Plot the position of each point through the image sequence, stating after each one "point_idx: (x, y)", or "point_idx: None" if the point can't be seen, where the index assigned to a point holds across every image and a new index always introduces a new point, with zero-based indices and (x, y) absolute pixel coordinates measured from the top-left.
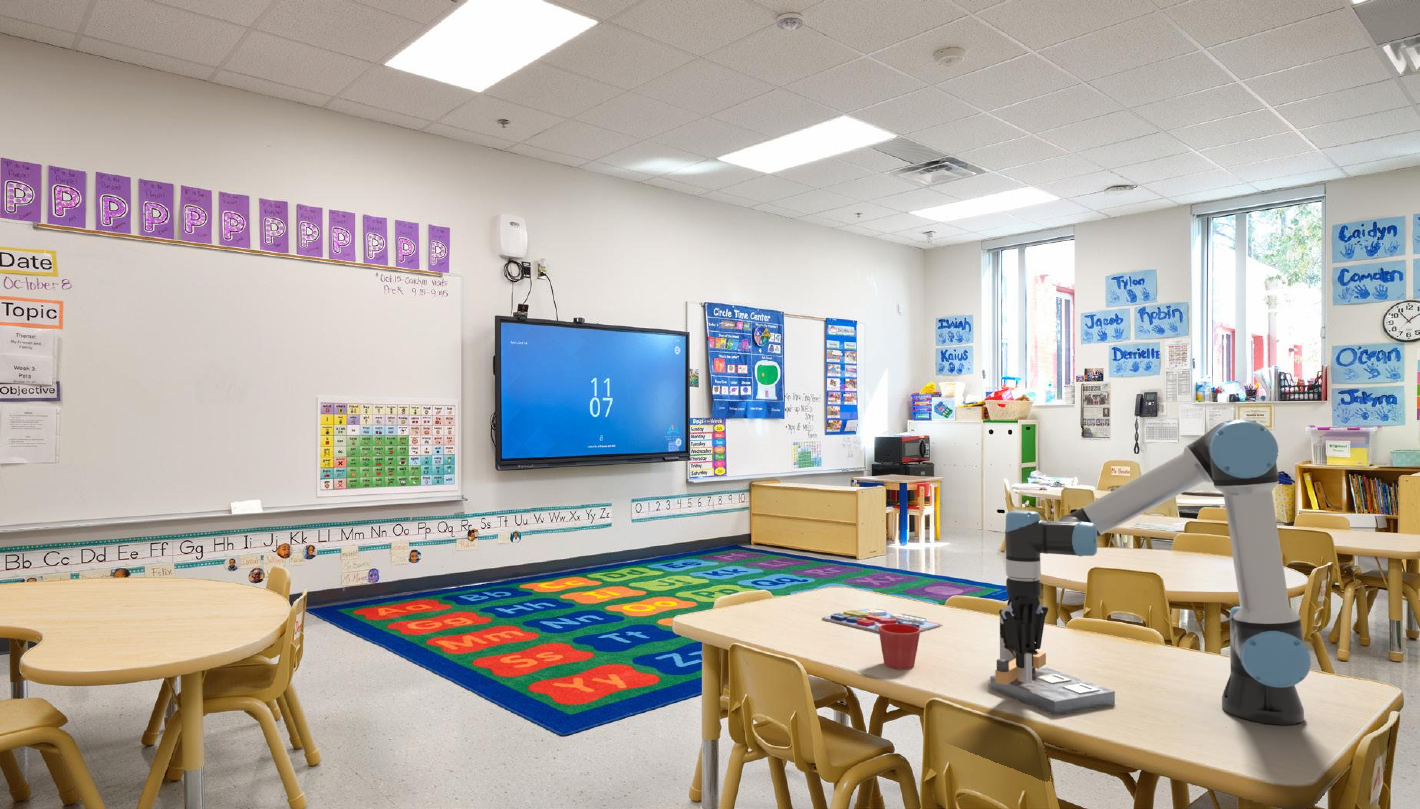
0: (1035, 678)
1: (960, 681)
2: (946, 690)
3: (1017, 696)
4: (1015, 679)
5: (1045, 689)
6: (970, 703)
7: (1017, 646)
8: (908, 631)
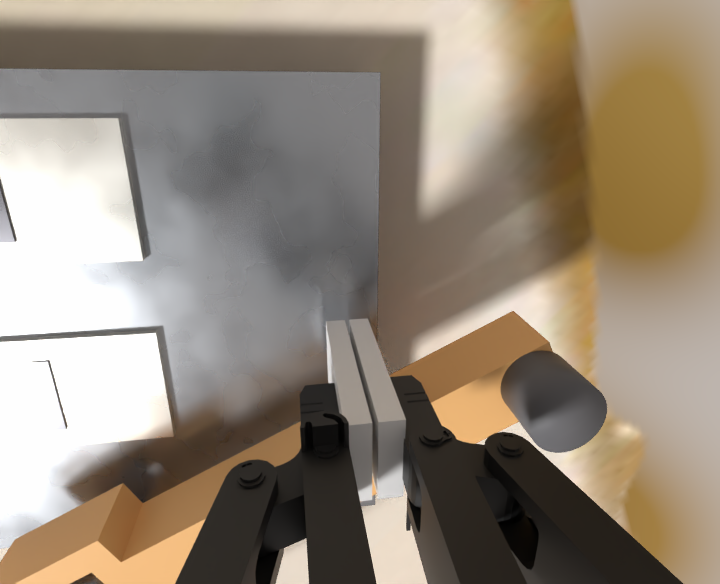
0: (184, 427)
1: (408, 551)
2: None
3: None
4: None
5: (268, 267)
6: (573, 347)
7: (524, 468)
8: None
